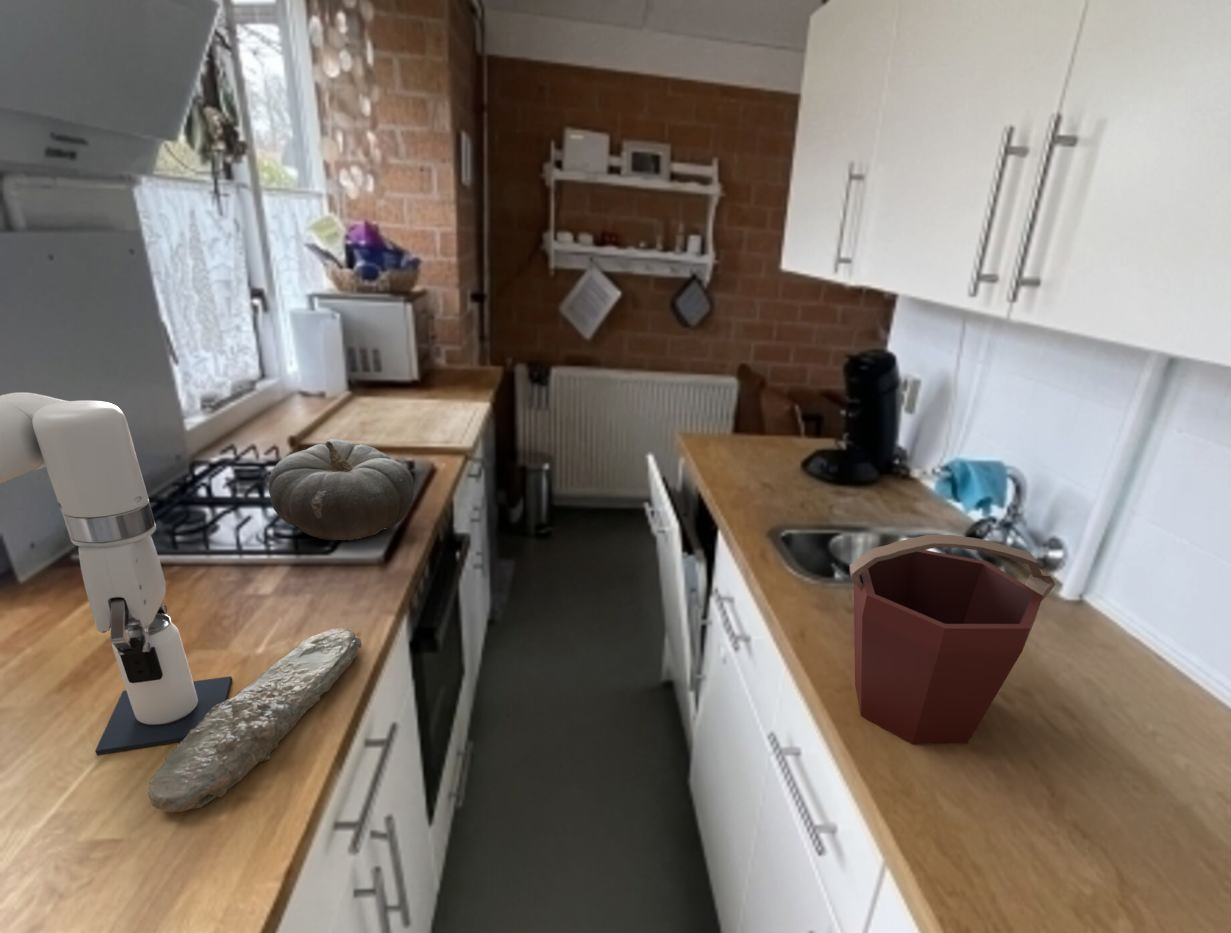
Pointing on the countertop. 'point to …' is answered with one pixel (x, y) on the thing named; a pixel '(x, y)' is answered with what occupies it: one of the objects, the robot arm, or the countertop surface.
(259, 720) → the long grey stone
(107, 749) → the mat
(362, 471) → the gourd
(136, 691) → the can
